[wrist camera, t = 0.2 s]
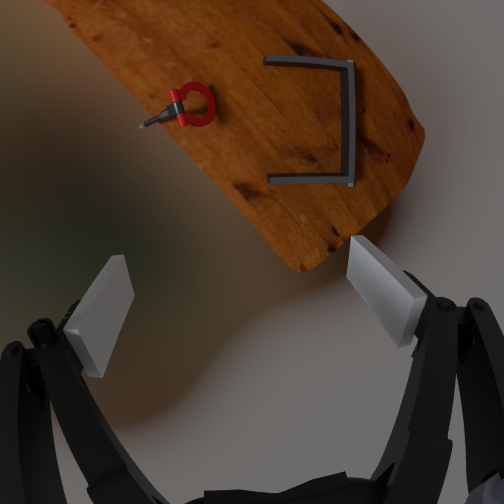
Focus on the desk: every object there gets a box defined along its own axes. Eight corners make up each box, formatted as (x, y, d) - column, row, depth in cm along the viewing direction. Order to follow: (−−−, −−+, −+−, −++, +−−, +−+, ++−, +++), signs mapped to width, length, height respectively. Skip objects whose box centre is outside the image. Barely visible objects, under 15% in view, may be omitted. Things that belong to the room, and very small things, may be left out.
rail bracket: (262, 53, 33) (265, 48, 31) (350, 61, 34) (358, 57, 32) (267, 187, 42) (270, 191, 40) (351, 185, 43) (359, 189, 41)
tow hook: (222, 120, 37) (185, 131, 32) (178, 135, 43) (143, 147, 38) (210, 78, 34) (170, 84, 29) (167, 99, 40) (130, 108, 35)
